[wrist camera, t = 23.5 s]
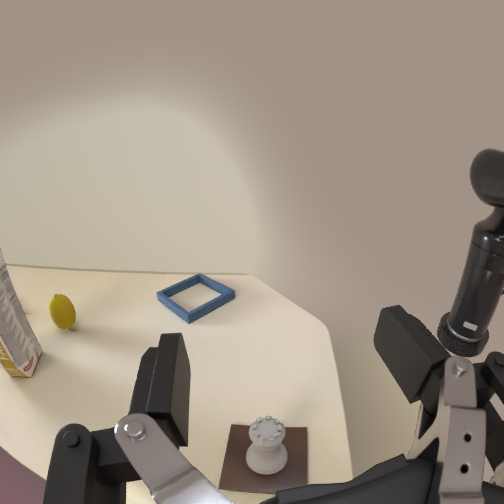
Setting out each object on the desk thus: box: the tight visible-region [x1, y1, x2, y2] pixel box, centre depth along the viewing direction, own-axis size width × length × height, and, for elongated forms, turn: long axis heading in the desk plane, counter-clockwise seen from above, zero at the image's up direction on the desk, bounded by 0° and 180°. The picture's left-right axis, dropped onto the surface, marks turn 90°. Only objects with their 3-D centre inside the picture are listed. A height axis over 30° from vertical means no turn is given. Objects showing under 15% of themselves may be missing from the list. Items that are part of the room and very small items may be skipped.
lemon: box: [49, 294, 76, 329], centre depth 43 cm, size 6×6×8 cm
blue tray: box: [157, 273, 235, 323], centre depth 55 cm, size 12×12×2 cm
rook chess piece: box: [246, 416, 288, 475], centre depth 22 cm, size 4×4×8 cm
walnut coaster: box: [219, 424, 307, 494], centre depth 24 cm, size 9×9×1 cm
